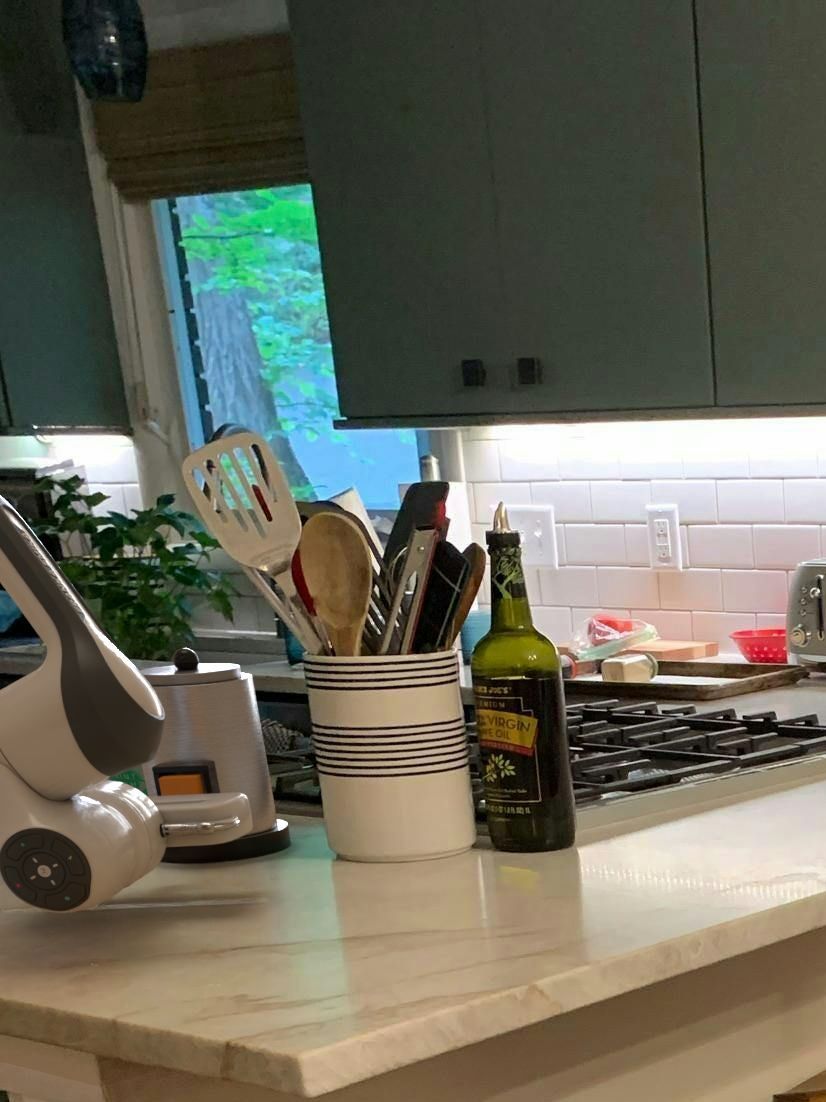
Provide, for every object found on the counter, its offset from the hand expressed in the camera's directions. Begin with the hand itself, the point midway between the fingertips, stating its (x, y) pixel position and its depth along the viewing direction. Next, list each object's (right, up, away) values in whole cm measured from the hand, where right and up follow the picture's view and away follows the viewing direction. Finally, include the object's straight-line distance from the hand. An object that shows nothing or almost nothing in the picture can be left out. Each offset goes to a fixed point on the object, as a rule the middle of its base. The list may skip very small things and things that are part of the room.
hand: (158, 806), depth 183 cm
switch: (-1, +1, +8) cm, 8 cm away
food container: (-14, +6, +32) cm, 36 cm away
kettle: (-1, 0, +18) cm, 18 cm away
